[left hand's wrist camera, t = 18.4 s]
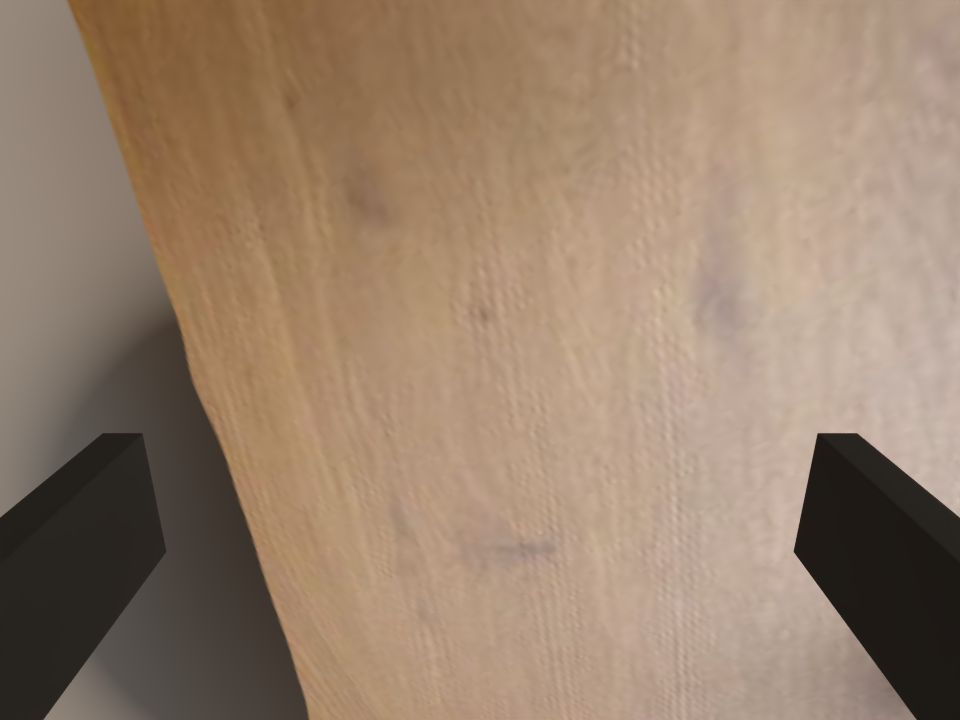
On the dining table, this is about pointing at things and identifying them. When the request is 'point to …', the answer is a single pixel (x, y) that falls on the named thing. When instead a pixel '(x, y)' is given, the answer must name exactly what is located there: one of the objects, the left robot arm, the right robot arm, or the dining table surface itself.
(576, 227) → the dining table surface
